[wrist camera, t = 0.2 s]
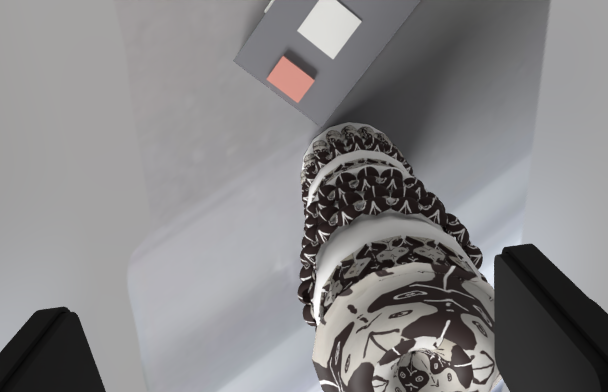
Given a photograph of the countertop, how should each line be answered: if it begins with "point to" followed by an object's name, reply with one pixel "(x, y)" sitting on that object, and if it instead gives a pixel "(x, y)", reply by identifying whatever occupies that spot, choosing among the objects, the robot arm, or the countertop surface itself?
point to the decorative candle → (389, 275)
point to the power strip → (319, 48)
